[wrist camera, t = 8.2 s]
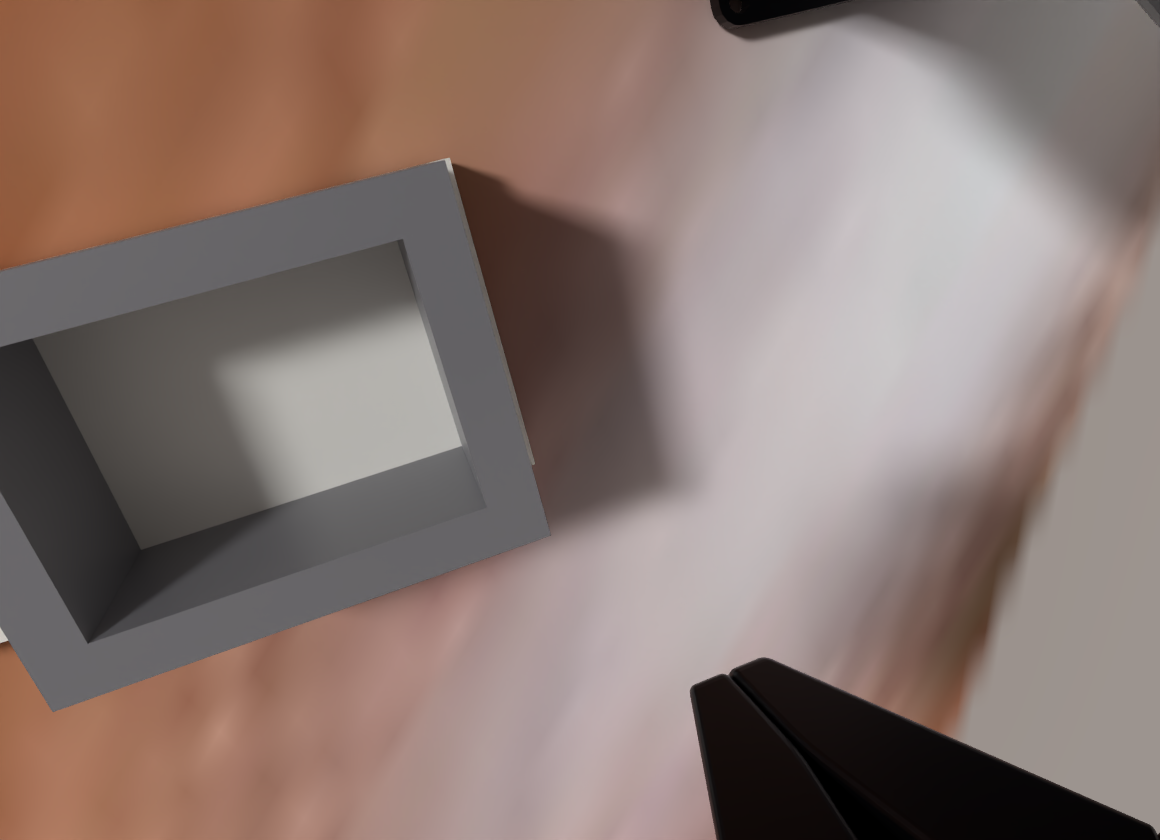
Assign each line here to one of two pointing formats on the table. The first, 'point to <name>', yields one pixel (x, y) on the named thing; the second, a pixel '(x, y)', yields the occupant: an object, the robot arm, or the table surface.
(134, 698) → the table surface
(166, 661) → the grey open storage bin
